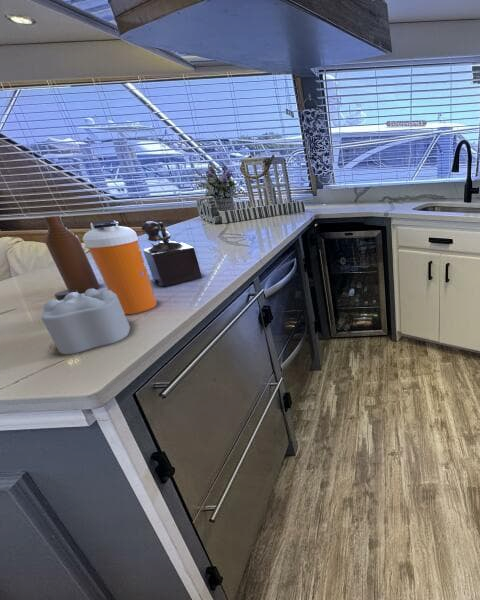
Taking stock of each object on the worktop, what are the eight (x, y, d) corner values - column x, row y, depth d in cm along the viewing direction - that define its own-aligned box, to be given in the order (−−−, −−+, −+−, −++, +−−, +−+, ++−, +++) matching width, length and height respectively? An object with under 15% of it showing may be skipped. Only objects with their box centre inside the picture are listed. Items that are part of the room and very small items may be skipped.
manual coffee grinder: (150, 281, 94) (127, 218, 87) (191, 271, 102) (173, 213, 95) (165, 292, 85) (141, 223, 77) (210, 280, 92) (191, 217, 85)
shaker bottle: (124, 319, 70) (85, 227, 62) (108, 311, 74) (69, 224, 66) (168, 304, 77) (138, 220, 69) (151, 298, 81) (121, 217, 73)
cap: (86, 299, 82) (81, 288, 81) (75, 305, 79) (70, 294, 78) (66, 301, 82) (61, 290, 80) (55, 307, 78) (49, 296, 77)
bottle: (65, 295, 86) (28, 219, 78) (73, 288, 91) (39, 216, 83) (96, 290, 88) (63, 216, 81) (102, 283, 94) (72, 213, 86)
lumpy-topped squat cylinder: (55, 358, 56) (30, 314, 53) (66, 331, 66) (46, 292, 62) (129, 338, 62) (111, 297, 58) (130, 316, 71) (114, 279, 68)
